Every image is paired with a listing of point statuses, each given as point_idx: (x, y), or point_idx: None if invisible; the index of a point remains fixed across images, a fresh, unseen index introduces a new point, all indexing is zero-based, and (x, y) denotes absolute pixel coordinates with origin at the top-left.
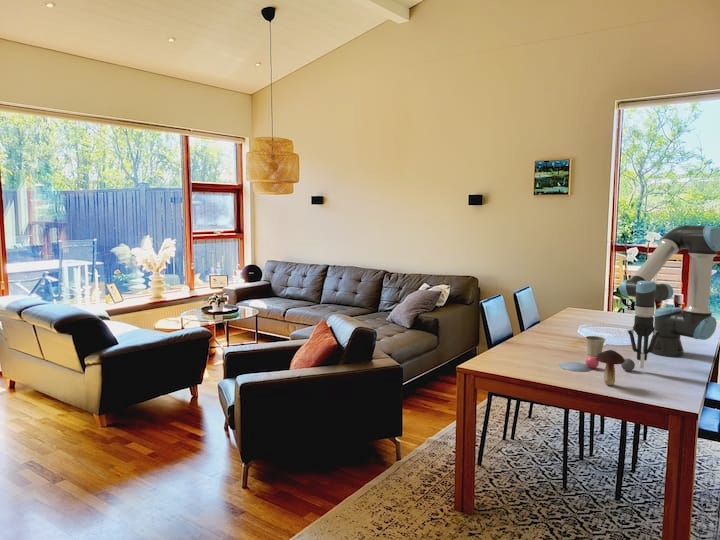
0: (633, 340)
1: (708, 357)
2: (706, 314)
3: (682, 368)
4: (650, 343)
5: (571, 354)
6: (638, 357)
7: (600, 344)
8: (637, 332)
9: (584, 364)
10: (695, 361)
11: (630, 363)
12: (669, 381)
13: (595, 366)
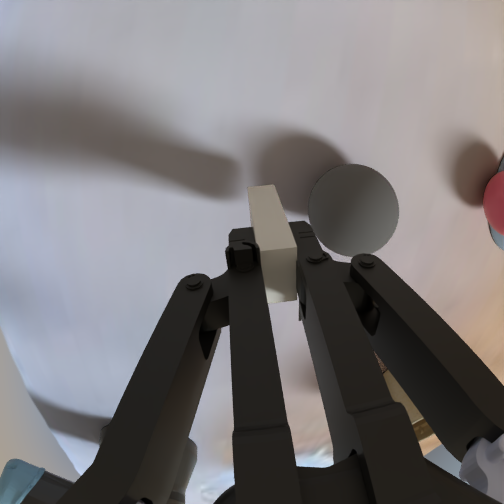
0: (448, 350)
1: (45, 420)
2: None
3: (60, 323)
4: (193, 386)
5: (470, 344)
6: (306, 232)
7: (410, 406)
8: (452, 488)
9: (498, 233)
10: (54, 395)
11: (356, 181)
12: (98, 41)
13: (499, 173)
